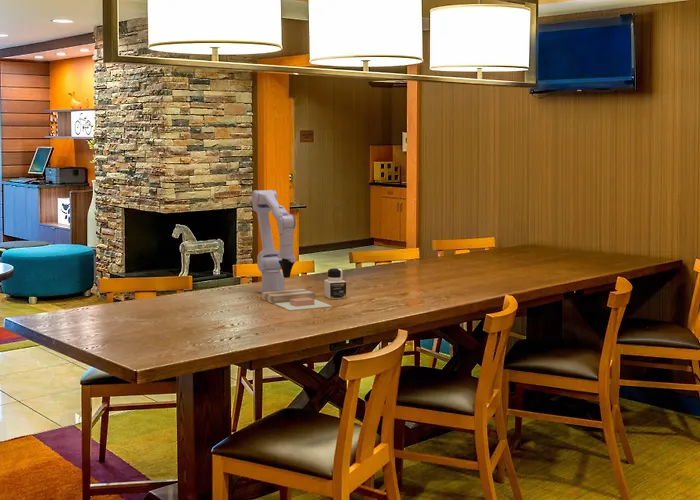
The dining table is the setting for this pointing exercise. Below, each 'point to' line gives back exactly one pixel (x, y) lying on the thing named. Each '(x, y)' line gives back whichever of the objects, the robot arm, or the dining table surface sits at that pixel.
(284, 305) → the mat
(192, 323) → the dining table surface
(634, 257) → the dining table surface
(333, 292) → the medicine bottle
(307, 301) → the block
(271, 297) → the block
